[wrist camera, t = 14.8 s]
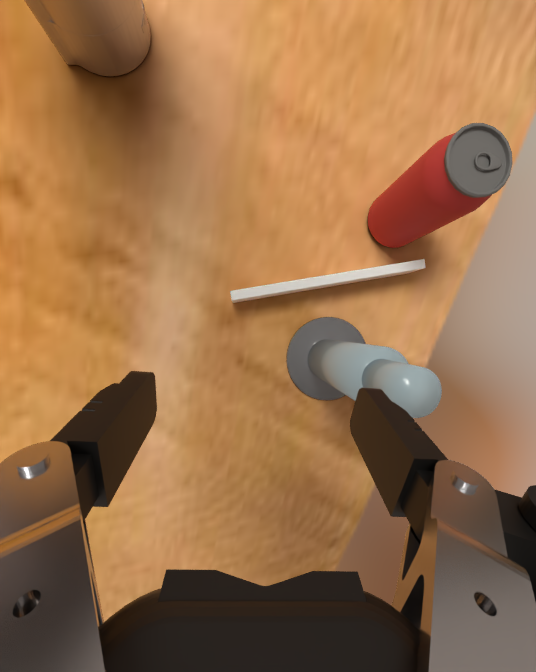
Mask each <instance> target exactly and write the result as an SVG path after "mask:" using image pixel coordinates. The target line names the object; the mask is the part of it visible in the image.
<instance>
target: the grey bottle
mask: <svg viewBox="0 0 536 672" xmlns="http://www.w3.org/2000/svg"><path fill="white" fill-rule="evenodd" d="M308 366H309V368H310V370H311V371H312V373H313V374H314V375H316V376H317V377H319V378H320V379H322V380H323V381H325V382H326V383H328V384H330V385H331V386H333V387H334V388H336V389H337V390H339V391H340V392H342V393H344V394H345V395H347V396H348V397H350V398H351V399H353V400H354V401H356V397H357V393H358V391H359V389H360V388H377V389H381V390H383V392H384V393H385V394H386V395H387V396H388V398H389V399H390V400H391V401H392V402H394V403H396V404H397V405H399V406H400V407H401V408H403V409H404V410H406V411H407V412H408V414H409V415H410V416H411V417H413V418H420V417H424V416H426V415H428V414H430V413H431V412H433V411H434V409H435V408H436V407H437V406H438V404H439V402H440V399H441V392H442V390H441V384H440V381H439V379H438V377H437V376H436V375H435V374H434V373H433V372H432V371H431V370H429V369H427V368H424V367H419V366H414V365H410V364H408V362H407V360H406V359H405V358H404V356H403V355H402V354H401V353H399V352H398V351H396V350H394V349H392V348H389V347H383V346H376V345H368V344H361V343H353V342H346V341H339V340H331V339H324V340H320V341H318V342H317V343H315V344H314V345H313V346H312V347H311V349H310V351H309V353H308Z"/></svg>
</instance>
